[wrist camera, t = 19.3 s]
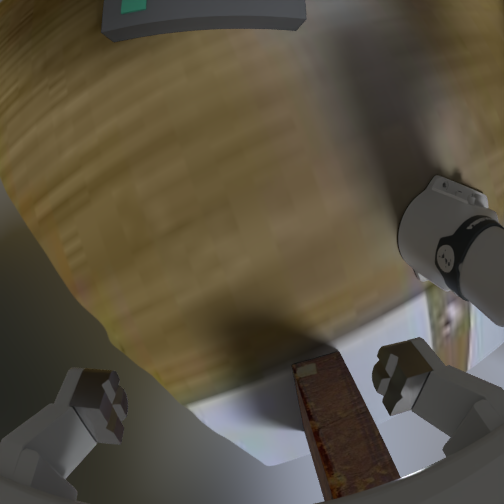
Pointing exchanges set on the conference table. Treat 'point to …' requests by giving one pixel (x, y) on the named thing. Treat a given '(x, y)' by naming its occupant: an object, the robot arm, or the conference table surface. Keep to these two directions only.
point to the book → (340, 429)
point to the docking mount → (197, 16)
